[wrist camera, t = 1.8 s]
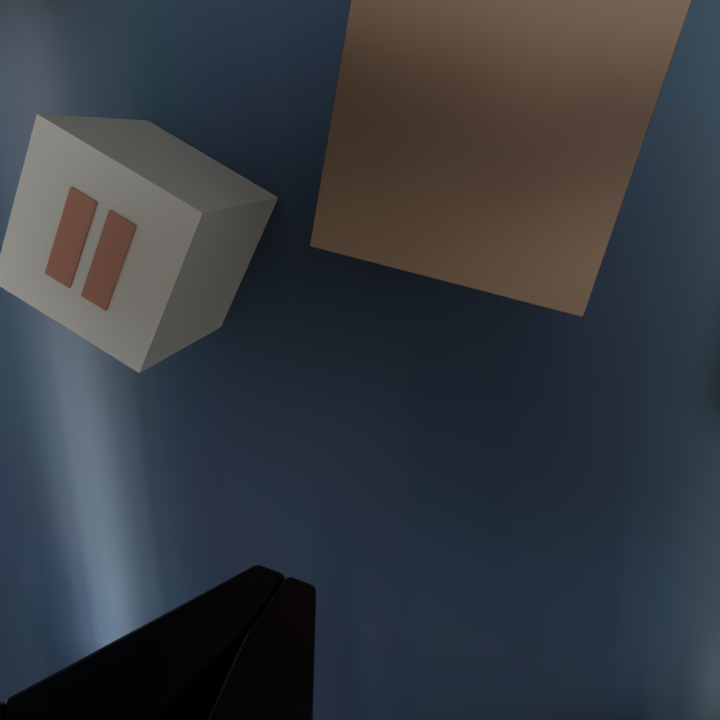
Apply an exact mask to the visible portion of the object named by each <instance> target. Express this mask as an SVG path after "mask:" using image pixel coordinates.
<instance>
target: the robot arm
mask: <svg viewBox="0 0 720 720" xmlns="http://www.w3.org/2000/svg"><path fill="white" fill-rule="evenodd" d="M315 612H316V589H315V587H314V586H313V585H311V584H308V583H306V582H303V581H300V580H298V579H295V578H292V577H289V578H286V579H285V577H284V575H283V574H281V573H279V572H277V571H274V570H271V569H269V568H266V567H263V566H260V565H257V566H253V567H251V568H249V569H247V570H246V571H244V572H242V573H240V574H238V575H236V576H234V577H233V578H231V579H229V580H227V581H225V582H223V583H221V584H220V585H218V586H216V587H214V588H212V589H210V590H208V591H207V592H205V593H203V594H201V595H199V596H197V597H195V598H194V599H192V600H190V601H188V602H186V603H184V604H182V605H181V606H179V607H177V608H175V609H173V610H171V611H169V612H168V613H166V614H164V615H162V616H160V617H158V618H156V619H155V620H153V621H151V622H149V623H147V624H145V625H143V626H142V627H140V628H138V629H136V630H134V631H132V632H130V633H129V634H127V635H125V636H123V637H121V638H119V639H117V640H116V641H114V642H112V643H110V644H108V645H106V646H104V647H103V648H101V649H99V650H97V651H95V652H93V653H91V654H90V655H88V656H86V657H84V658H82V659H80V660H78V661H77V662H75V663H73V664H71V665H69V666H67V667H65V668H64V669H62V670H60V671H58V672H56V673H54V674H52V675H51V676H49V677H47V678H45V679H43V680H41V681H39V682H38V683H36V684H34V685H32V686H30V687H28V688H26V689H25V690H23V691H21V692H19V693H17V694H15V695H13V696H12V697H10V698H9V699H8V701H7V704H5V703H4V702H0V720H313V686H314V649H315Z"/></svg>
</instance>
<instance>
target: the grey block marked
mask: <svg viewBox="0 0 720 720" xmlns="http://www.w3.org/2000/svg"><path fill="white" fill-rule="evenodd" d="M277 200H278V197H277V196H275V195H273V194H271V193H270V192H268V191H266V190H265V189H263V188H261V187H260V186H258V185H256V184H255V183H253V182H251V181H249V180H248V179H246V178H244V177H243V176H241V175H239V174H238V173H236V172H234V171H232V170H231V169H229V168H227V167H226V166H224V165H222V164H221V163H219V162H217V161H216V160H214V159H212V158H210V157H209V156H207V155H205V154H204V153H202V152H200V151H199V150H197V149H195V148H194V147H192V146H190V145H188V144H187V143H185V142H183V141H182V140H180V139H178V138H177V137H175V136H173V135H171V134H170V133H168V132H166V131H165V130H163V129H161V128H160V127H158V126H156V125H155V124H153V123H151V122H149V121H148V120H133V119H116V118H99V117H82V116H65V115H48V114H37V115H36V119H35V123H34V127H33V131H32V135H31V138H30V142H29V146H28V150H27V154H26V158H25V161H24V165H23V169H22V173H21V177H20V181H19V184H18V188H17V192H16V196H15V200H14V204H13V208H12V211H11V215H10V219H9V223H8V227H7V231H6V234H5V238H4V242H3V246H2V250H1V254H0V287H2V288H4V289H5V290H7V291H8V292H10V293H12V294H13V295H15V296H16V297H18V298H20V299H21V300H23V301H24V302H26V303H28V304H29V305H31V306H32V307H34V308H36V309H37V310H39V311H40V312H42V313H44V314H45V315H47V316H48V317H50V318H52V319H53V320H55V321H56V322H58V323H60V324H61V325H63V326H64V327H66V328H68V329H69V330H71V331H72V332H74V333H76V334H77V335H79V336H80V337H82V338H84V339H85V340H87V341H88V342H90V343H92V344H93V345H95V346H96V347H98V348H100V349H101V350H103V351H104V352H106V353H108V354H109V355H111V356H112V357H114V358H116V359H117V360H119V361H120V362H122V363H124V364H125V365H127V366H128V367H130V368H132V369H133V370H135V371H136V372H138V373H141V372H143V371H144V370H146V369H148V368H150V367H151V366H153V365H155V364H157V363H158V362H160V361H162V360H164V359H165V358H167V357H169V356H171V355H173V354H174V353H176V352H178V351H180V350H181V349H183V348H185V347H187V346H188V345H190V344H192V343H194V342H195V341H197V340H199V339H201V338H203V337H204V336H206V335H208V334H210V333H211V332H213V331H215V330H217V329H218V328H220V327H221V326H222V324H223V322H224V319H225V317H226V315H227V313H228V310H229V308H230V306H231V304H232V301H233V299H234V297H235V295H236V292H237V290H238V288H239V286H240V283H241V281H242V279H243V277H244V274H245V272H246V270H247V268H248V265H249V263H250V261H251V258H252V256H253V254H254V252H255V249H256V247H257V245H258V243H259V240H260V238H261V236H262V234H263V231H264V229H265V227H266V225H267V222H268V220H269V218H270V216H271V213H272V211H273V209H274V207H275V204H276V202H277Z"/></svg>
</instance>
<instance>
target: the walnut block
mask: <svg viewBox="0 0 720 720" xmlns="http://www.w3.org/2000/svg"><path fill="white" fill-rule="evenodd" d="M690 3H691V0H351V6H350V12H349V18H348V24H347V29H346V35H345V41H344V47H343V53H342V59H341V65H340V71H339V77H338V83H337V89H336V95H335V101H334V107H333V113H332V118H331V124H330V130H329V136H328V142H327V148H326V154H325V160H324V166H323V172H322V178H321V184H320V190H319V196H318V202H317V207H316V213H315V219H314V225H313V231H312V237H311V243H310V246H311V247H315V248H319V249H323V250H327V251H331V252H334V253H338V254H342V255H346V256H350V257H354V258H358V259H361V260H365V261H369V262H373V263H377V264H381V265H385V266H388V267H392V268H396V269H400V270H404V271H408V272H412V273H415V274H419V275H423V276H427V277H431V278H435V279H439V280H442V281H446V282H450V283H454V284H458V285H462V286H466V287H469V288H473V289H477V290H481V291H485V292H489V293H493V294H496V295H500V296H504V297H508V298H512V299H516V300H520V301H523V302H527V303H531V304H535V305H539V306H543V307H547V308H550V309H554V310H558V311H562V312H566V313H570V314H574V315H577V316H581V317H583V315H584V312H585V309H586V306H587V303H588V300H589V298H590V295H591V292H592V289H593V286H594V283H595V280H596V277H597V274H598V271H599V268H600V265H601V263H602V260H603V257H604V254H605V251H606V248H607V245H608V242H609V239H610V236H611V233H612V230H613V227H614V225H615V222H616V219H617V216H618V213H619V210H620V207H621V204H622V201H623V198H624V195H625V192H626V190H627V187H628V184H629V181H630V178H631V175H632V172H633V169H634V166H635V163H636V160H637V157H638V154H639V152H640V149H641V146H642V143H643V140H644V137H645V134H646V131H647V128H648V125H649V122H650V119H651V117H652V114H653V111H654V108H655V105H656V102H657V99H658V96H659V93H660V90H661V87H662V84H663V81H664V79H665V76H666V73H667V70H668V67H669V64H670V61H671V58H672V55H673V52H674V49H675V46H676V44H677V41H678V38H679V35H680V32H681V29H682V26H683V23H684V20H685V17H686V14H687V11H688V8H689V6H690Z"/></svg>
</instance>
